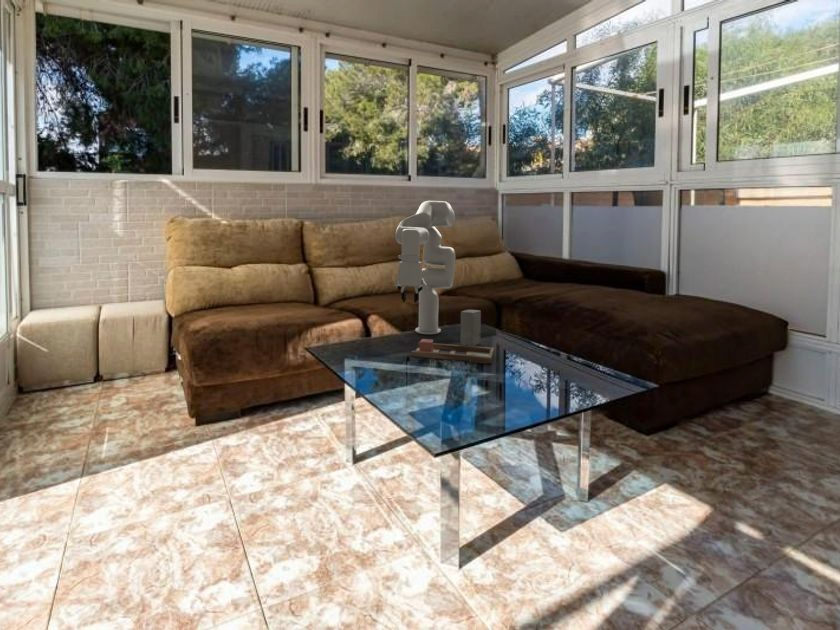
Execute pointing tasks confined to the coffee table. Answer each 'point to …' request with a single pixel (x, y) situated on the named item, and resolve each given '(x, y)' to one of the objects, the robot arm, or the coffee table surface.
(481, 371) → the coffee table surface
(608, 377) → the coffee table surface
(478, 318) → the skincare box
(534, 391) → the coffee table surface
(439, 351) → the trap box
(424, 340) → the oxblood block
